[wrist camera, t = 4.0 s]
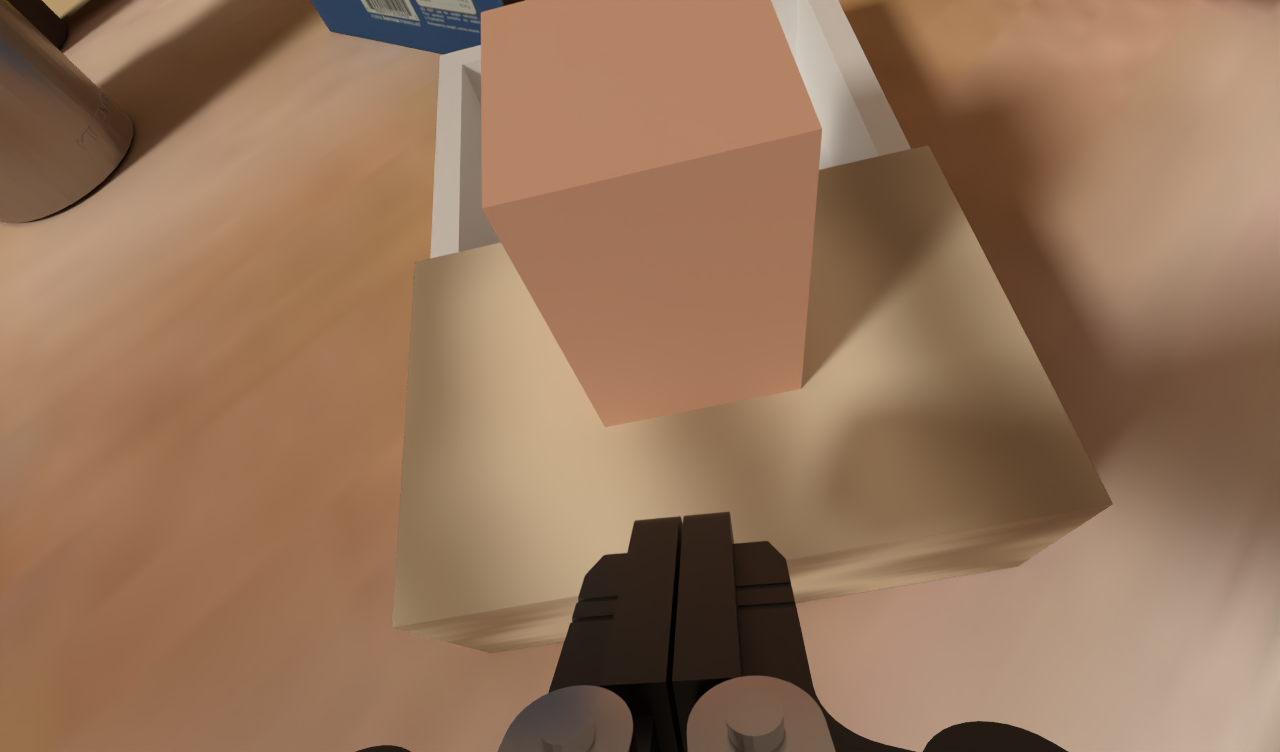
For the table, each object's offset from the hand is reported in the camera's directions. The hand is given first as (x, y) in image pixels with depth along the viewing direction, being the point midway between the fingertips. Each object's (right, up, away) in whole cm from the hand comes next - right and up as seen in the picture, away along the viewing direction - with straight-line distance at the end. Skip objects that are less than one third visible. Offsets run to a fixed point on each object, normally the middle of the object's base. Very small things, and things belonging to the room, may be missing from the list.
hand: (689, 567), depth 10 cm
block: (0, +4, +7) cm, 8 cm away
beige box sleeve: (+2, +1, +12) cm, 12 cm away
